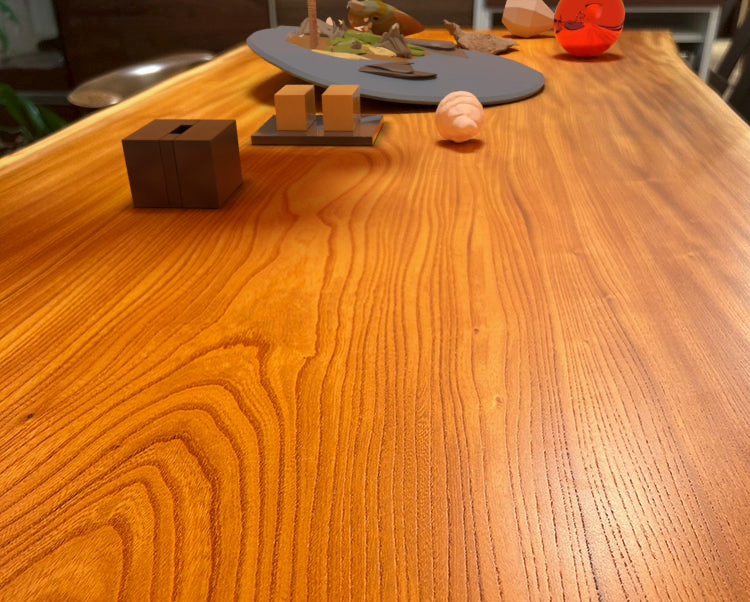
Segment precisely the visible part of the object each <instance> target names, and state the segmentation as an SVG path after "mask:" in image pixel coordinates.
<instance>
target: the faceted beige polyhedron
mask: <svg viewBox="0 0 750 602" xmlns="http://www.w3.org/2000/svg"><path fill="white" fill-rule="evenodd" d="M554 14H555V12H554V11H553V10H552V9H551V8H550V7H549V6H548V5H547V4H546V3H545V2H544V0H506V1H505V6H504V9H503V13H502V18H501V23H502V24H503V26H504V27H505V28H506V30H508V31H509V33H510V34H511V35H513V36H517V37H521V38H526V39H528V38H531V37H534V36H536V35H539V34H541V33H544V32H546V31H549V30H553V19H554Z"/></svg>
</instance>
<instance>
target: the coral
mask: <svg viewBox="0 0 750 602" xmlns="http://www.w3.org/2000/svg"><path fill="white" fill-rule="evenodd" d="M442 22H443V25H444V27H445V29H446V30H447V32H448V33H449V35H450V36H452V37H453V38H454V40H455V42H456V46H458V47H457V48H458V49H464V50H470V51H477V52H483V53H488V54H493V55H497V54H498V53H501V52H506V51H507V49H510V48H512V47H513V46H519V44H518V42H517V41H515V40H514V39H513V38H511V37H510V38H509V37H508V38H506V37H501V36H500V35H496V34H494V33H492V32H486V33H485V32H474V31H473V32H471V31H463V30H462V28H461V26H460V25H458V24H457V23H455V22H454V21H453V22H449V21H448V20H447V19H442Z"/></svg>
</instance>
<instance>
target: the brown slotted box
mask: <svg viewBox="0 0 750 602" xmlns="http://www.w3.org/2000/svg"><path fill="white" fill-rule="evenodd" d="M238 134H239V133H238V125H237V120H236V119H220V118H219V119H213V118H212V119H208V118H207V119H205V118H204V119H201V118H199V119H198V118H192V119H191V118H188V119H187V118H155V119H153V120H150V121H149V122H148V123H147V124H144V125H143V126H141V127H140V128H138V129H137V130H135V131H133V132H131V133H130V134H128V135H127V136H125V137H124V138H122V139H121V145H122V152H123V157H124V162H125V168H126V172H127V178H128V185H129V188H130V194H131V199H132V205H133V207H134V208H168V209H169V208H170V209H171V208H173V209H176V208H177V209H178V208H179V209H182V208H184V209H220V208H221V207H222V206H223V204H225V202H226V201H227V200H228V199H229V198H230V197H231V195H233V194H234V193H235V191H236V190H237V189H238V188H239V187H240V186H241V185H242V184H243V182H244V179H243V171H242V163H241V155H240V154H241V153H240V144H239V136H238Z"/></svg>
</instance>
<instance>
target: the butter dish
mask: <svg viewBox="0 0 750 602" xmlns="http://www.w3.org/2000/svg"><path fill="white" fill-rule="evenodd" d="M315 94H316V93H315V85H314V84H285V85H284V86H283V87H282V88H280V89H279V90H278V91H277V92H275V94H273V97H274V111H275V114H273V115H272V116H270V117H268V118H267V120H266V121H265V122H264V123H263V124H262V125H261V126H259V128H258V129H256V131H254V132H253V133H252V134H251V135H250V141H251V142H250V143H251V145H258V146H259V145H260V146H261V145H262V146H263V145H265V146H266V145H268V146H269V145H270V146H271V145H273V146H275V145H276V146H278V145H279V146H281V145H282V146H293V145H294V146H374V143H375V141H376V139H377V137H378V135H379V133H380V131H381V129H382V127H383V125H384V115H383V114H361V97H360V85H330V86H329V87H328V88H326V89H325V91H324V92H323V93H322V94H321V107H322V108H321V109H322V114H316V113H317V112H316V110H317V109H316V95H315Z"/></svg>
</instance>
